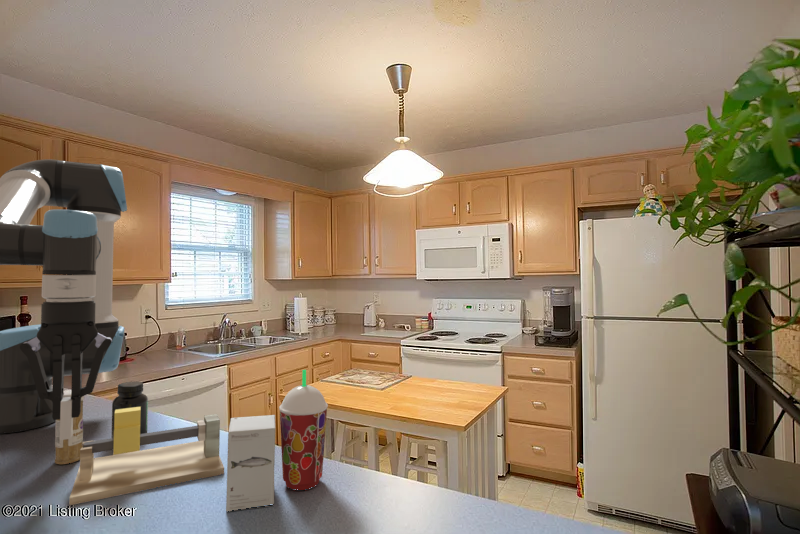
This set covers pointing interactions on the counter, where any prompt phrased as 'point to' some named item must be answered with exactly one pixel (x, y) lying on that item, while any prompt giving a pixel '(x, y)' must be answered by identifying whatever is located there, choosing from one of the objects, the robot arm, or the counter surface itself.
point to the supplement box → (250, 462)
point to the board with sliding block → (149, 466)
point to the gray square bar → (146, 438)
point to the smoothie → (303, 435)
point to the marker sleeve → (127, 430)
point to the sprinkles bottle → (70, 447)
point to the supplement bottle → (131, 402)
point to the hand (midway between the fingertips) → (66, 436)
